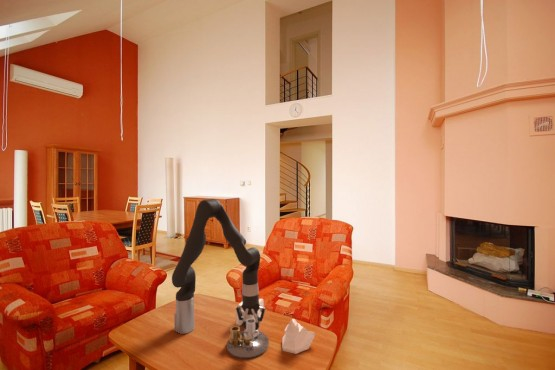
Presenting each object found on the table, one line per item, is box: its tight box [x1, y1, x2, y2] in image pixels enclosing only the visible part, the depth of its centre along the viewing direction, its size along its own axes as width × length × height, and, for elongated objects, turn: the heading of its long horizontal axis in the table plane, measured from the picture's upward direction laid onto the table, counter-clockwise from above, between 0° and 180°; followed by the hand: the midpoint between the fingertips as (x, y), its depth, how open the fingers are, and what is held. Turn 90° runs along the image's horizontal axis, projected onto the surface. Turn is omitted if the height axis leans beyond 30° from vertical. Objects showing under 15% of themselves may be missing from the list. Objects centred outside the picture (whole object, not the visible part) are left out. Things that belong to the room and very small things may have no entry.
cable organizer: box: [235, 298, 264, 327], centre depth 147 cm, size 15×11×12 cm
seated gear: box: [228, 325, 242, 345], centre depth 127 cm, size 6×6×6 cm
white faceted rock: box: [281, 318, 316, 355], centre depth 124 cm, size 12×15×14 cm
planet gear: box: [243, 318, 259, 338], centre depth 120 cm, size 6×6×6 cm
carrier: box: [226, 330, 270, 360], centre depth 126 cm, size 20×20×6 cm
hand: (251, 328), depth 120 cm, fingers closed on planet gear, 4 cm apart
